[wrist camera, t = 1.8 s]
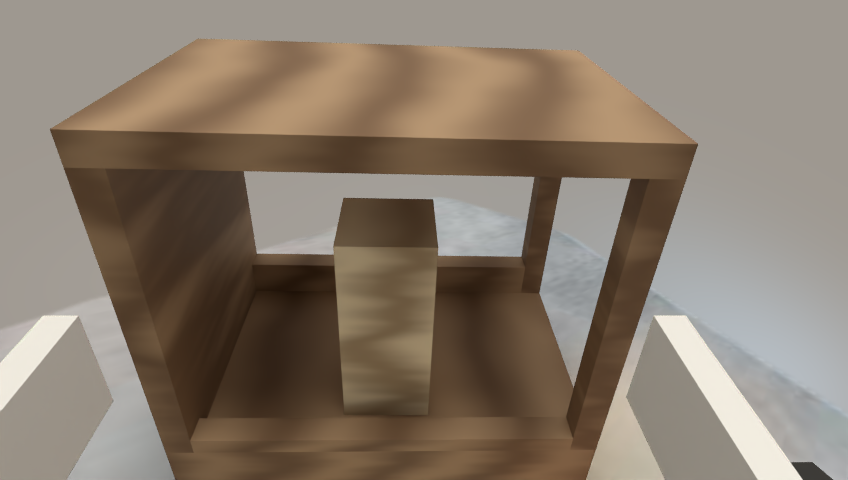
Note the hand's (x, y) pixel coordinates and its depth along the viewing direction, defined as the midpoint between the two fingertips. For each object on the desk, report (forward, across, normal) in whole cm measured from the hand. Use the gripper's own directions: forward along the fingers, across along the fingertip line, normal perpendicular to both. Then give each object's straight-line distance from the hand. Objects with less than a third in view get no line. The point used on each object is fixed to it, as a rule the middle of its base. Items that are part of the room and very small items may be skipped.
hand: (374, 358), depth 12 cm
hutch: (+18, 0, -23) cm, 29 cm away
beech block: (+14, 0, -16) cm, 22 cm away
